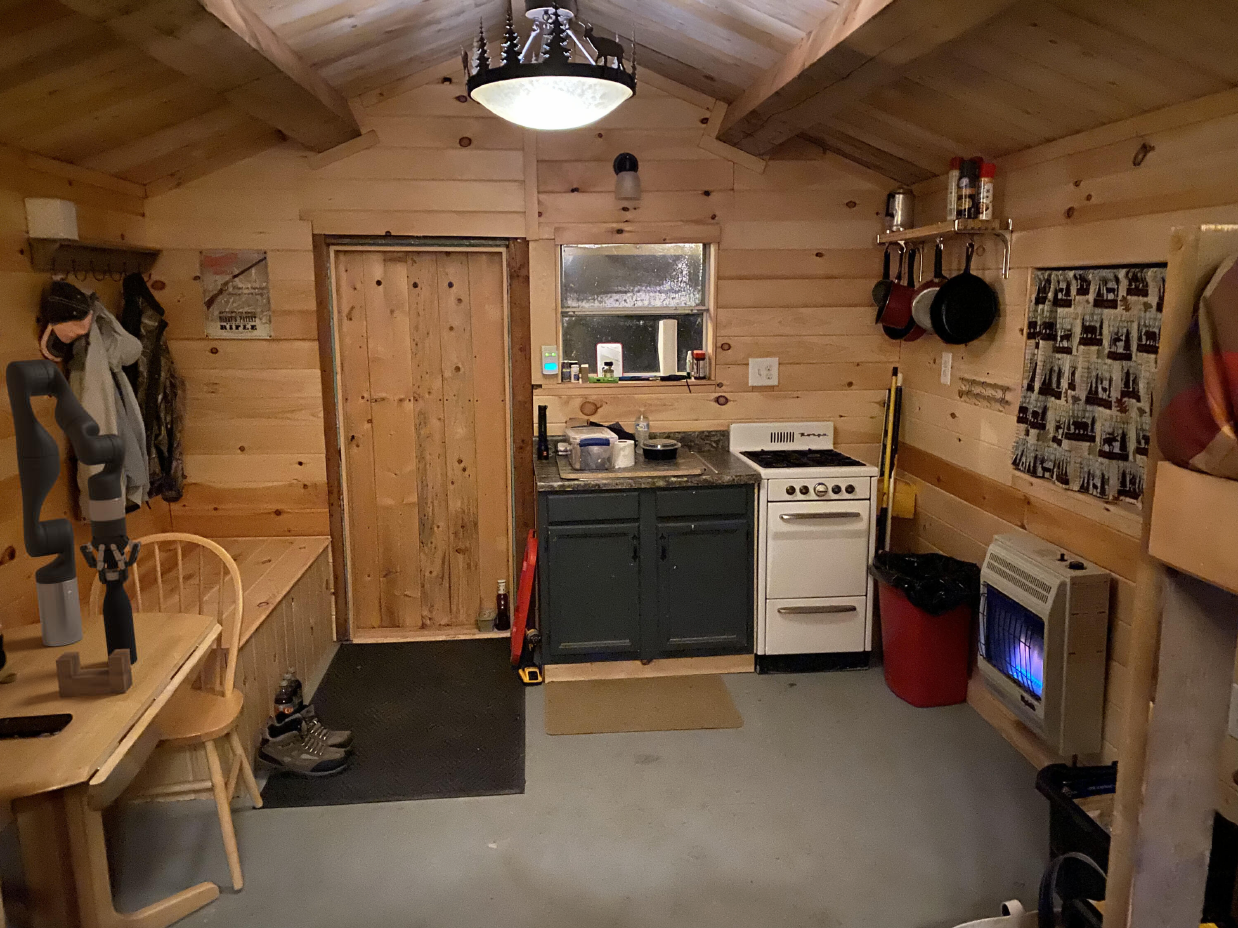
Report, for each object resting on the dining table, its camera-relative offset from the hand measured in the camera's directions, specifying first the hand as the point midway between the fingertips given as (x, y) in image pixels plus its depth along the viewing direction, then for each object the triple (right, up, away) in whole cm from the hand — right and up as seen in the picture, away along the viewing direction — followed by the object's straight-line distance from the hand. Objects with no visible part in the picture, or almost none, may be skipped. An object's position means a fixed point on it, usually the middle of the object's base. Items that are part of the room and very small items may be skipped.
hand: (114, 582), depth 224 cm
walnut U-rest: (+3, -24, -12) cm, 27 cm away
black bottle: (0, -21, +4) cm, 21 cm away
